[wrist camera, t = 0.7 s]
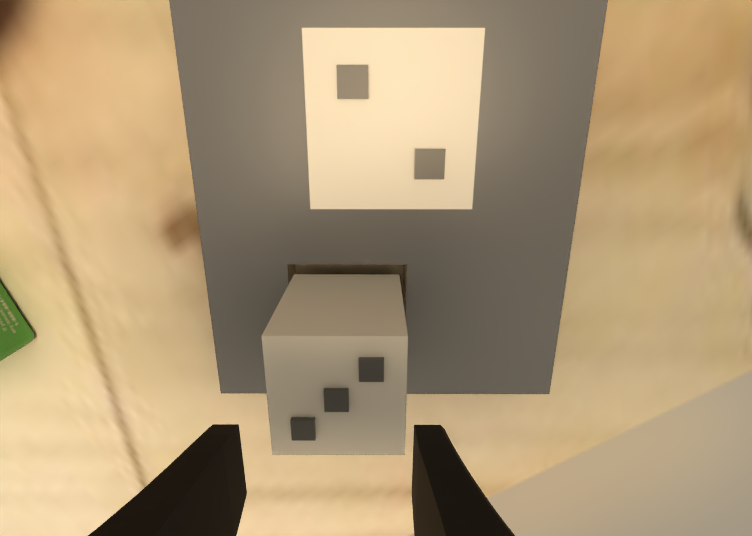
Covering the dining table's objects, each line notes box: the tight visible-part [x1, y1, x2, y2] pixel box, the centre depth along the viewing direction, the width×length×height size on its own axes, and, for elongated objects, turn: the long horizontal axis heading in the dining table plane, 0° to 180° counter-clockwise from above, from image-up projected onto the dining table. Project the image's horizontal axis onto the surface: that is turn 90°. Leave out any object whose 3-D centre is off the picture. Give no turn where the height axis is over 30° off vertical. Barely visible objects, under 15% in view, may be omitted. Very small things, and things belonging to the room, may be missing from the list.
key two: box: [302, 28, 485, 209], centre depth 13 cm, size 4×4×5 cm
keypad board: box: [169, 0, 608, 394], centre depth 16 cm, size 14×22×2 cm, turn 0°
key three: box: [262, 274, 408, 455], centre depth 15 cm, size 4×4×5 cm
